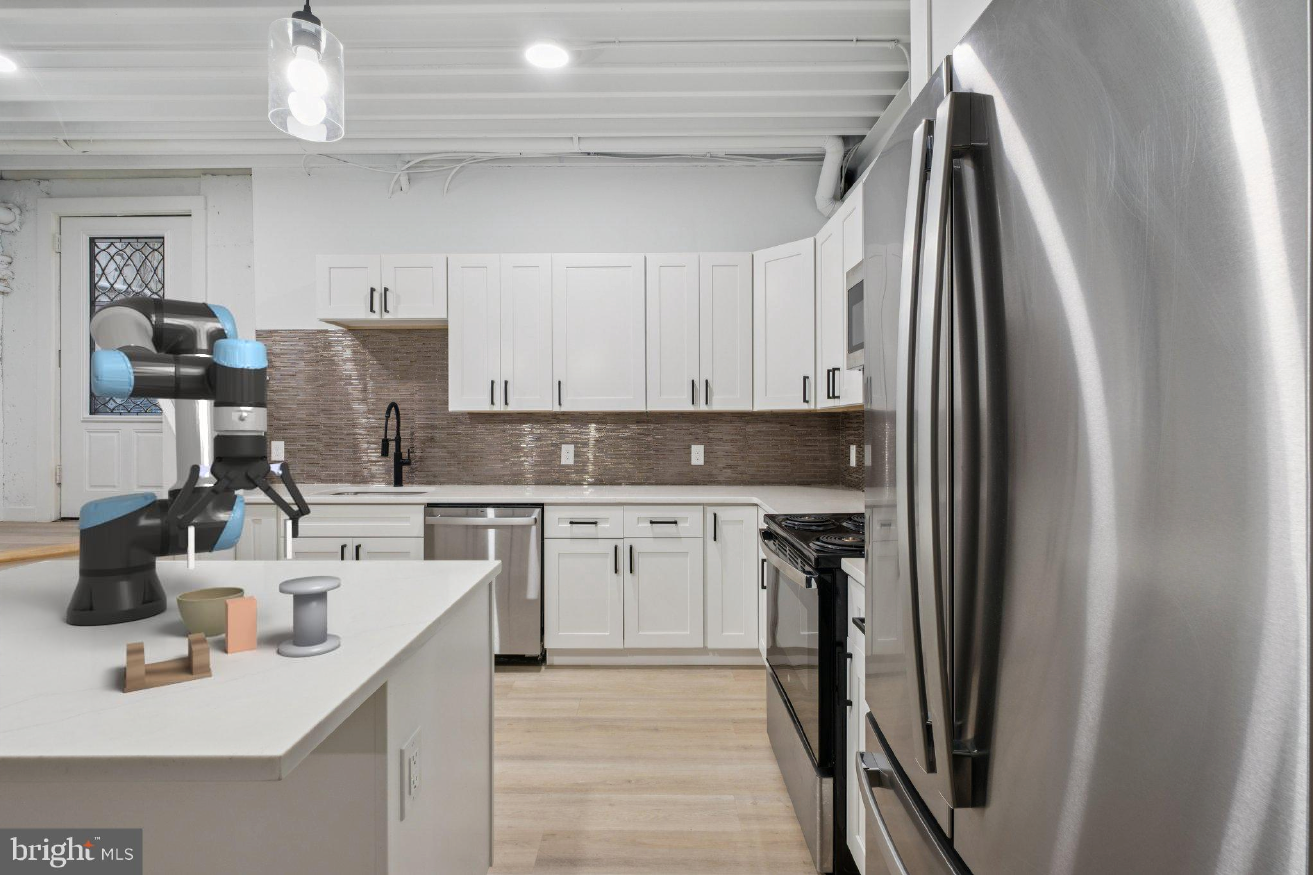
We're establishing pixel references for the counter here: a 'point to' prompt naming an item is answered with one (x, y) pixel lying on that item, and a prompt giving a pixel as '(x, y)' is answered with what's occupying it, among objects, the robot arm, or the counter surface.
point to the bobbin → (309, 616)
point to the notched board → (166, 666)
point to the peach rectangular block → (240, 624)
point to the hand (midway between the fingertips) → (241, 562)
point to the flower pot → (206, 609)
